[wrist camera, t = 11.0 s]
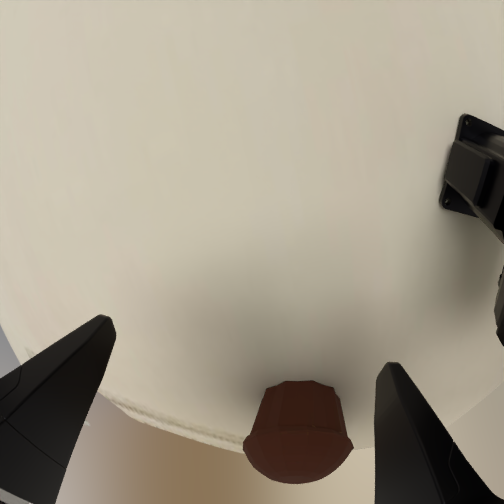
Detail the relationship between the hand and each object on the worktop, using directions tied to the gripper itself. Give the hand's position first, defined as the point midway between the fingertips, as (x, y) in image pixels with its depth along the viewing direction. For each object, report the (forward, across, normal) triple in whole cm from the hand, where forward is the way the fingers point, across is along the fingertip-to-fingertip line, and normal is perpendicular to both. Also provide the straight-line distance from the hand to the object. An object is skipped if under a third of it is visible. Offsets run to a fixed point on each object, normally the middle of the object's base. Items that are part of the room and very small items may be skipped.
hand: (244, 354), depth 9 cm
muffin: (+12, -6, +23) cm, 27 cm away
